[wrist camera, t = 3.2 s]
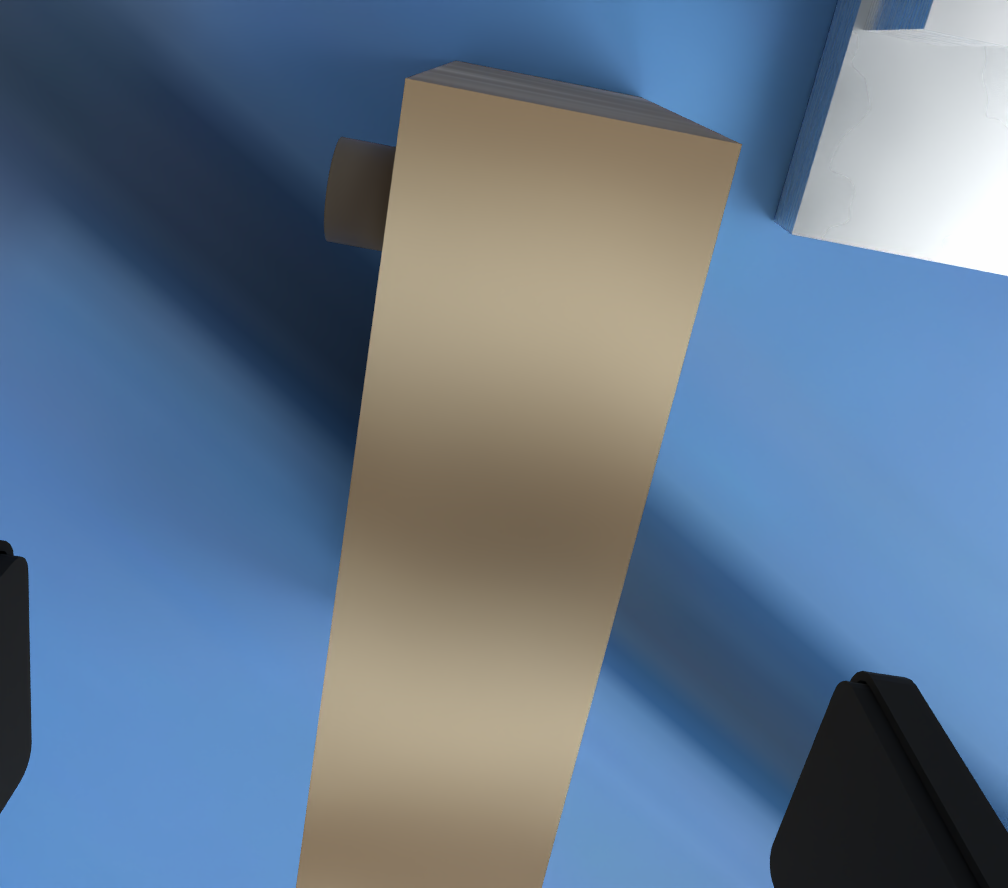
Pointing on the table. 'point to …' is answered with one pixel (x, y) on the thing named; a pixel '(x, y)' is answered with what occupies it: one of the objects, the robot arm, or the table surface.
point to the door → (497, 458)
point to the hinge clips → (908, 134)
